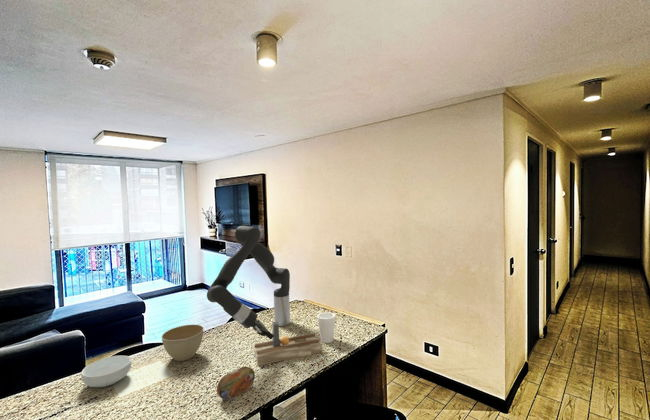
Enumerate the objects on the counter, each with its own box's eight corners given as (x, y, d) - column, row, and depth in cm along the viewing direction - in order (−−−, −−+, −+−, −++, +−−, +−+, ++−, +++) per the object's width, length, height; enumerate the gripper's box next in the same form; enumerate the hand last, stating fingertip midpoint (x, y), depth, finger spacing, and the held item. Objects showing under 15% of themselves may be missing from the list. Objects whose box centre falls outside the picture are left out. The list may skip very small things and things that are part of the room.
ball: (281, 334, 147) (289, 335, 148) (278, 342, 146) (286, 343, 148) (282, 337, 143) (290, 339, 144) (280, 346, 143) (288, 347, 144)
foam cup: (336, 336, 162) (335, 312, 162) (335, 344, 153) (334, 318, 153) (319, 336, 163) (318, 312, 163) (316, 344, 154) (316, 318, 153)
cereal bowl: (92, 399, 115) (91, 381, 115) (75, 386, 124) (74, 369, 123) (139, 376, 129) (139, 360, 129) (120, 366, 138) (120, 351, 138)
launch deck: (254, 353, 146) (254, 342, 146) (313, 341, 156) (313, 331, 156) (257, 365, 135) (257, 353, 135) (321, 352, 145) (320, 341, 145)
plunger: (272, 344, 145) (271, 322, 145) (278, 343, 146) (277, 320, 146) (273, 348, 141) (273, 325, 141) (280, 347, 142) (279, 324, 142)
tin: (220, 404, 109) (219, 381, 109) (216, 401, 111) (215, 378, 111) (255, 385, 120) (254, 364, 120) (251, 382, 122) (250, 361, 122)
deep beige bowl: (191, 344, 158) (190, 321, 158) (212, 353, 147) (211, 329, 147) (155, 360, 143) (154, 334, 143) (175, 371, 133) (174, 343, 132)
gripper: (251, 313, 134) (280, 336, 138) (248, 304, 146) (275, 325, 150) (239, 327, 132) (269, 350, 136) (237, 317, 144) (264, 338, 149)
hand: (272, 337), depth 143 cm, fingers closed
